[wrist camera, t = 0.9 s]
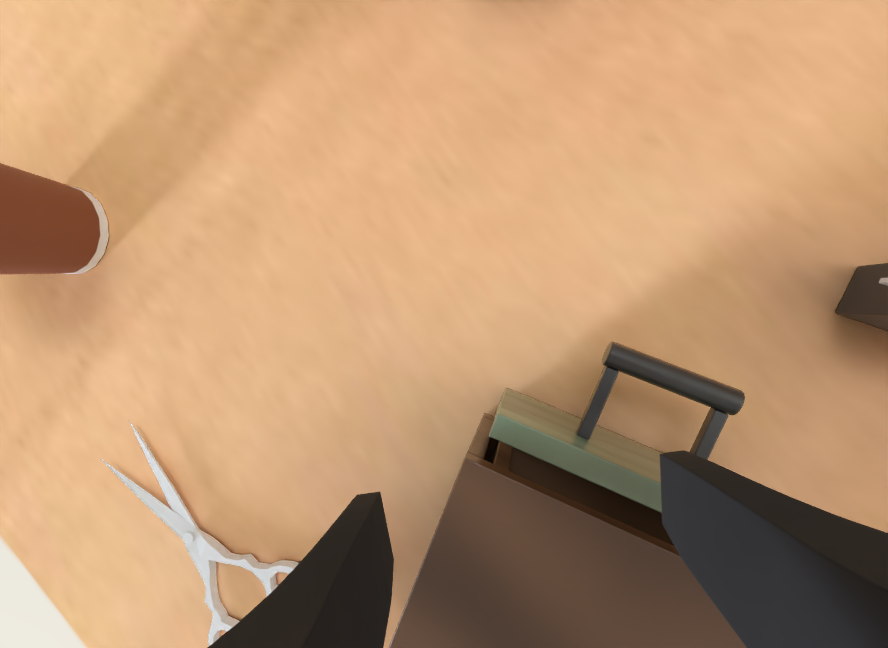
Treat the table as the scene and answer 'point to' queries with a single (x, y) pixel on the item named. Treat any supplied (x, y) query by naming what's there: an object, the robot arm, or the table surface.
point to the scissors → (202, 544)
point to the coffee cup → (48, 226)
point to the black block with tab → (867, 296)
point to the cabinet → (548, 574)
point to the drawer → (605, 441)
